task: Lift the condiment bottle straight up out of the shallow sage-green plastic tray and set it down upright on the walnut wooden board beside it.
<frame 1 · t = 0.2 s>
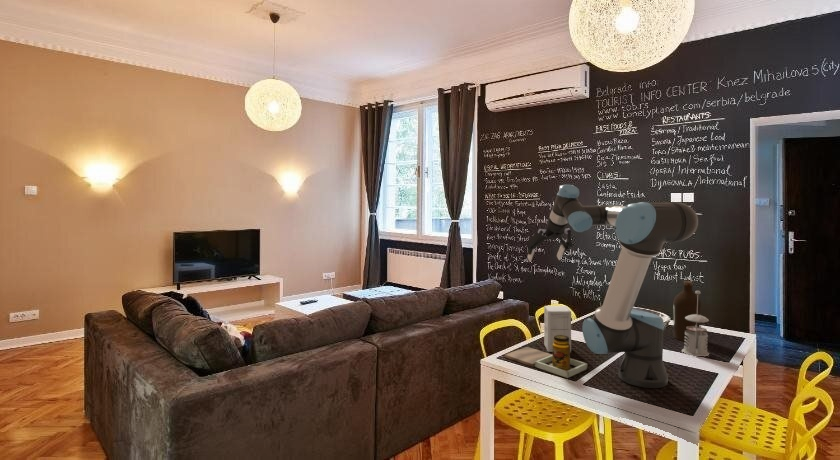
hand: (543, 258, 198), 35 cm above the table, tool tilted 35°, fingers open, 13 cm apart
french press: (695, 353, 181), on the table
supplement box: (557, 348, 188), on the table
condiment: (560, 368, 168), resting in tray
board: (529, 357, 178), on the table
tray: (560, 367, 168), on the table
olive oil: (685, 338, 200), on the table
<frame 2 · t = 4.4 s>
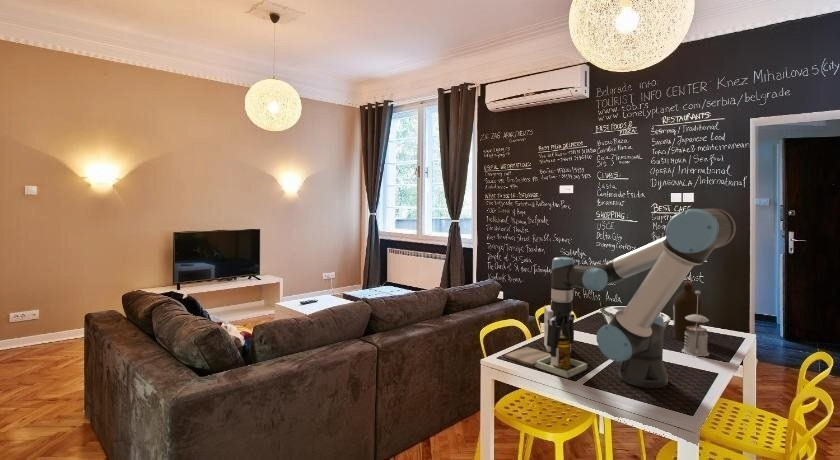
hand: (560, 362, 167), 2 cm above the table, tool pointing down, fingers open, 6 cm apart
condiment: (561, 368, 168), resting in tray, touching gripper
everything else where it was.
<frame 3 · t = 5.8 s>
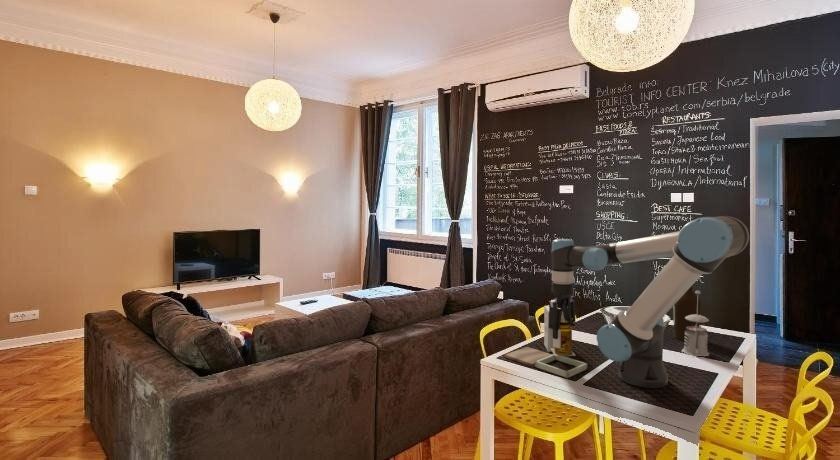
hand: (562, 345, 167), 9 cm above the table, tool pointing down, fingers closed on condiment, 6 cm apart
condiment: (562, 353, 167), point 5 cm above the table, touching gripper
everything else where it was.
when the fingers open (4 cm above the table, at t = 10.8 s): condiment stays where it is, resting on board.
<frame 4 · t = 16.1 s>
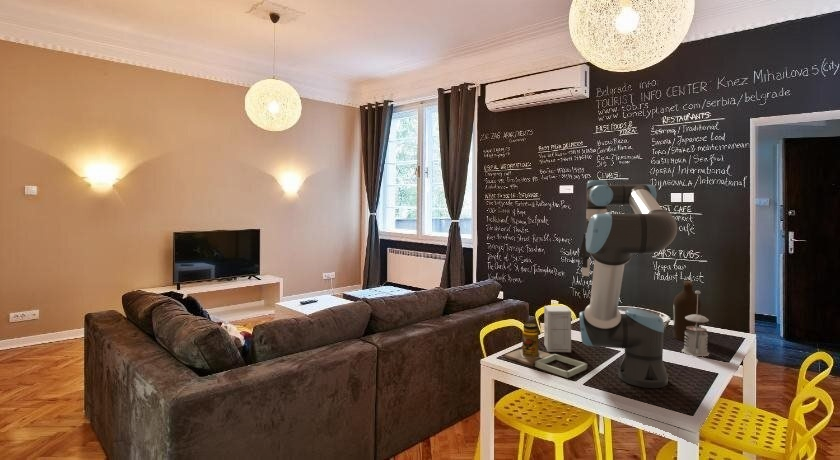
hand: (595, 273, 181), 32 cm above the table, tool pointing down, fingers open, 13 cm apart
condiment: (530, 355, 179), point 1 cm above the table, touching board
everything else where it was.
at the end: condiment inside the target area on the board (0.7 cm from its centre), point 0.8 cm above the board's base; condiment tilted 0°; the gripper is holding nothing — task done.
